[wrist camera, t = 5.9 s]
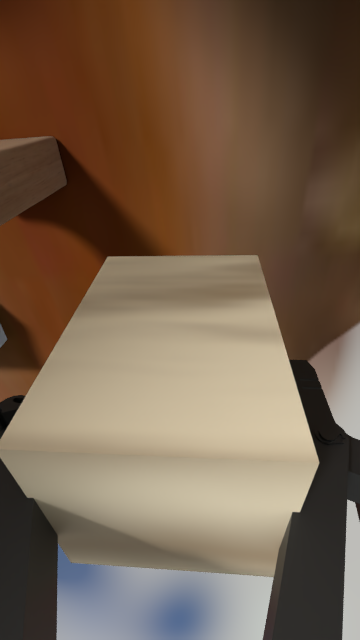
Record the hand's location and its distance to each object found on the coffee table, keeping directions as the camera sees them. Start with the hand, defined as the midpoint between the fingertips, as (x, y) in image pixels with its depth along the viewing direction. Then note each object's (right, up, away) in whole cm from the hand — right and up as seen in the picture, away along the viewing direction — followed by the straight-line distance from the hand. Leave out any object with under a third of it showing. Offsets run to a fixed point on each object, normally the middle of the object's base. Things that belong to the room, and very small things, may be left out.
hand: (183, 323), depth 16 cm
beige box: (0, 0, +1) cm, 1 cm away
